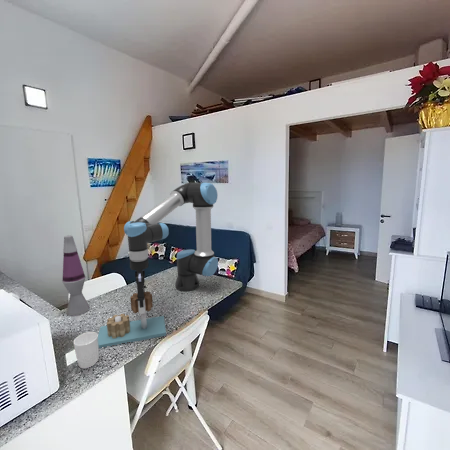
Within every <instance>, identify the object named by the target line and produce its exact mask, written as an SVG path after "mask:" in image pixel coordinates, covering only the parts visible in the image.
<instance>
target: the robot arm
mask: <svg viewBox="0 0 450 450" xmlns="http://www.w3.org/2000/svg"><path fill="white" fill-rule="evenodd" d="M217 200H218V191H217V188H216V187H215V184H213V183H210V182H187V183H184V184H181V185H180V186H178V187H176V188H175V189H174V190H172V191H170V192H169V195H168V196H166V198H165V199H163V200H162V201H160V202H159V203H157V204H156V205H154V206H153V207H152V208H151V209H149V210H148V211H147V212H145V213H144V214H143V215H141V216H140V217H139V218H137V219H135V221H134V220H129V221H127V222H126V223H125V224H124V226H123V232H124V234H125V236H127V243H128V252H127V255H129V269H130V270H131V271H135V272H134V277H135V283H136V288H137V289H136V290H137V291H136V293H138V299H136V301H138V308H139V313H138V314H139V315H141V314H144V313H146V314H147V311H146V310H145V297H144V292H146V289H147V285H145V282H146V281H145V276H146V274H145V273H146V271H145V270H146V269H148V268H149V266H150V265H149V248H148V244H150V243H154V242H157V241H162V240H164V239H166V238H167V237H168V236H169V234H170V232H169V227H168V226H167V224H165V223H164V222H161V221H162V220H163V219H164V218H166V217H167V216H168V215H170V214H171V213H172V212H174V210H176V209H177V208H178V207H182V206H184V204H192V208H194V210H195V236H196V237H195V238H196V240H195V241H196V250H195V249H190V248H189V249H184V250H180V251H178V252H177V254H176V268H177V270H176V272H177V275H176V279H175V284H174V285H175V286H174V288H175V289H176V290H178V291H181V292H191V291H195V290H196V289H198V288H199V287H200V280H199V278H198V275H200V276H203V277H205V276H206V277H211V276H213V275H214V274H215V273H216V272H217V270H218V266H219V259H218V257H216V256H215V252H214V251H213V250H212V213H211V212H212V209H213V208H214V205H215V203H217V202H218V201H217ZM159 222H160V223H159Z"/></svg>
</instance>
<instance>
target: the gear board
mask: <svg viewBox="0 0 450 450" xmlns="http://www.w3.org/2000/svg"><path fill="white" fill-rule="evenodd" d="M119 321H121V316H118V315H117V316H116V317H115V322H119ZM97 334H98V345H99V348H100V349H103V348H102V347H105V348H108V347H107V346H110V347H113V346H112V345H115V346H118V345H117V344H120V345H122V344H121V343H125V344H128V343H127V342H131V343H135V341H136V342H139V341H145V340H151V339H155V338H160V337H166V336H167V330H166V323H165V317H164V315H159V316H154V317H148V318H147V312H146V313H144V314H140V319H138V320H132V321H130V332H129V333H126V334H125V336H123V337H120V336H119V337H117V338H112V336H110V337H109V336H108V331H107V325H102V326H100V327H99V331H98V333H97Z"/></svg>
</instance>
